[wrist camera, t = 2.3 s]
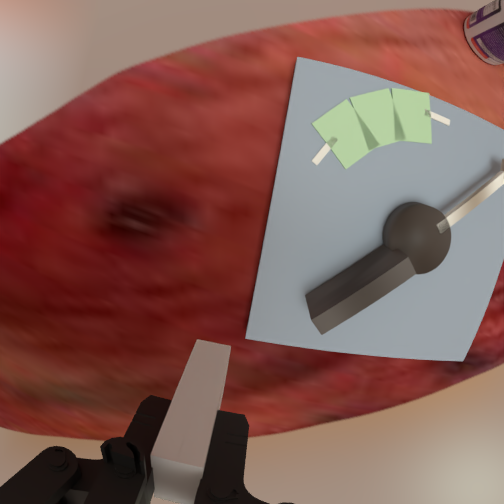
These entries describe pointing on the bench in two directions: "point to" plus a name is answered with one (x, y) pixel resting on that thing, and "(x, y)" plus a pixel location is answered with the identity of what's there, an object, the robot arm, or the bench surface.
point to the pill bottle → (487, 32)
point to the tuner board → (377, 214)
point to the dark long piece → (393, 258)
